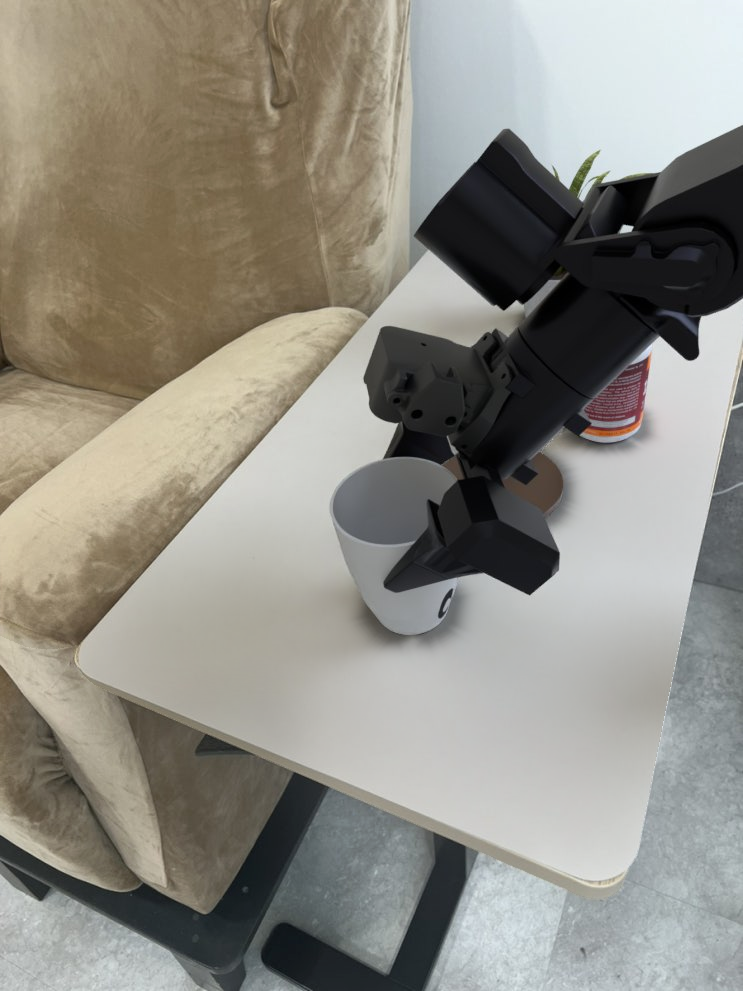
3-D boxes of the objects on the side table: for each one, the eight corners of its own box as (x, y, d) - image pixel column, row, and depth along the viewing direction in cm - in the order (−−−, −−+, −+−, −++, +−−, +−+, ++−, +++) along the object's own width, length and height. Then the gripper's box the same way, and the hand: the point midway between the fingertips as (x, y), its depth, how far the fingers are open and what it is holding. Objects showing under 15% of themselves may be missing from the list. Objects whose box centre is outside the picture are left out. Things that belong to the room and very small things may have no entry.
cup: (473, 650, 49) (466, 542, 43) (349, 656, 50) (323, 551, 44) (467, 559, 56) (459, 452, 49) (356, 566, 56) (334, 461, 50)
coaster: (565, 450, 64) (565, 445, 63) (560, 535, 56) (560, 530, 56) (446, 444, 66) (445, 440, 66) (426, 525, 59) (426, 520, 58)
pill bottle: (655, 435, 64) (674, 316, 56) (585, 452, 63) (596, 334, 56) (619, 395, 68) (633, 281, 61) (554, 411, 68) (560, 297, 60)
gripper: (415, 213, 45) (269, 401, 52) (493, 383, 31) (277, 610, 38) (544, 311, 50) (395, 470, 57) (661, 495, 36) (444, 676, 43)
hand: (379, 541), depth 49 cm, fingers closed on cup, 8 cm apart
